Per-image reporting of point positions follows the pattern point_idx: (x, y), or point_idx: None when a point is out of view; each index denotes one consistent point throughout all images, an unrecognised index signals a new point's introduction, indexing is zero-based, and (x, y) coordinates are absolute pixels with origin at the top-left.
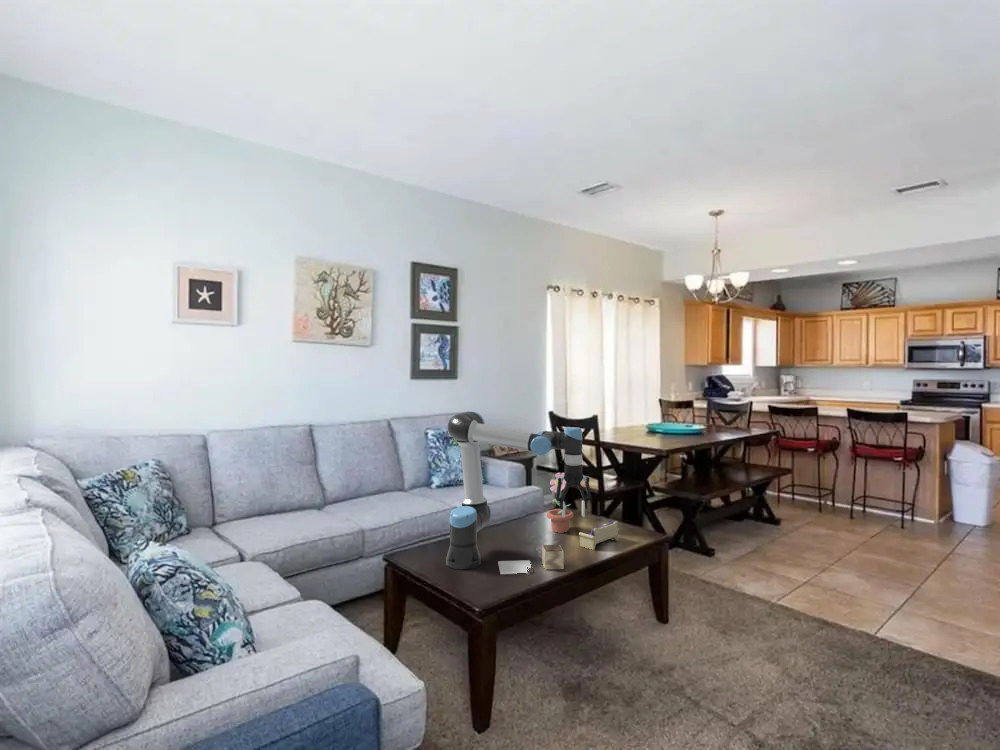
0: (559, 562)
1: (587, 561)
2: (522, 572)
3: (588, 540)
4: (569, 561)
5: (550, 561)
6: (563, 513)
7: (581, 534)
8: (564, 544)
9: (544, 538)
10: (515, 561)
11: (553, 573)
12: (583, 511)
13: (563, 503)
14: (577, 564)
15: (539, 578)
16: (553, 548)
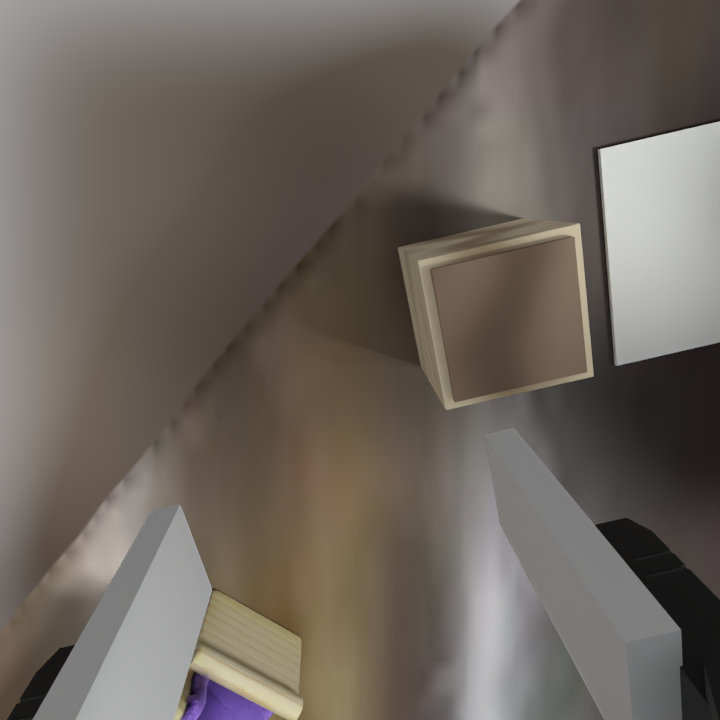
0: (434, 245)
1: (243, 408)
2: (678, 138)
3: (239, 650)
4: (360, 392)
5: (503, 229)
6: (536, 463)
7: (285, 695)
8: (393, 649)
9: (508, 714)
10: (708, 331)
11: (466, 164)
12: (140, 571)
13: (652, 612)
14: (307, 348)
15: (565, 54)
16: (505, 300)
